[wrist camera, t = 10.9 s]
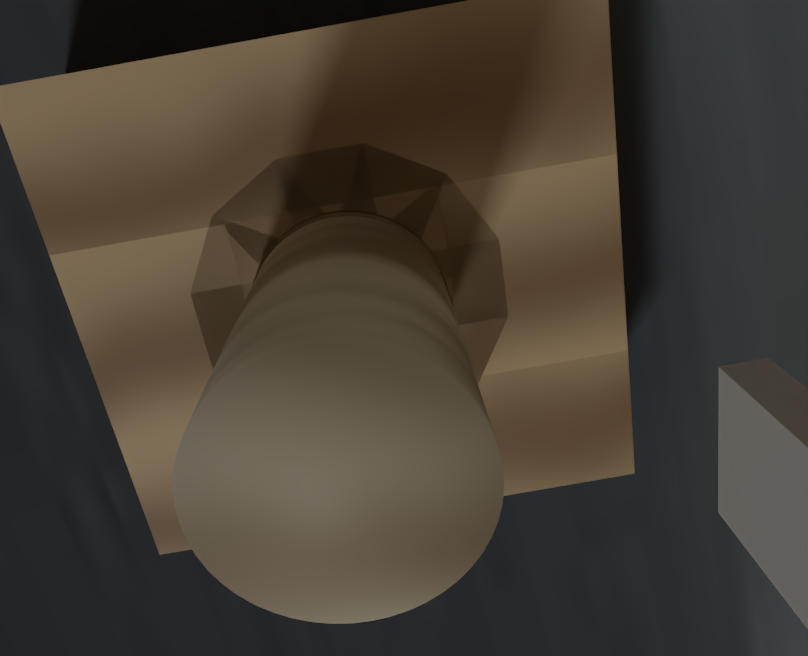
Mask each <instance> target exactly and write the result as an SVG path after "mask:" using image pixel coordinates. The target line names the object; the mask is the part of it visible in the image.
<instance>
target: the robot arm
mask: <svg viewBox="0 0 808 656" xmlns="http://www.w3.org/2000/svg"><path fill="white" fill-rule="evenodd" d="M718 513H719V514H720V515H721V517H722V518H723V519H724V520H725V522H726V523H727V524H728V526H729V527H730V528H731V530H732V531H733V532H734V534H735V535H736V536H737V537H738V539H739V540H740V541H741V543H742V544H743V545H744V547H745V548H746V549H747V551H748V552H749V553H750V554H751V556H752V557H753V558H754V560H755V561H756V562H757V564H758V565H759V566H760V567H761V569H762V570H763V571H764V573H765V574H766V575H767V577H768V578H769V579H770V581H771V582H772V583H773V584H774V586H775V587H776V588H777V590H778V591H779V592H780V594H781V595H782V596H783V598H784V599H785V600H786V601H787V603H788V604H789V605H790V607H791V608H792V609H793V611H794V612H795V613H796V614H797V616H798V617H799V618H800V620H801V621H802V622H803V624H804V625H805V626H806V628H807V629H808V389H807V388H806V387H804V386H803V385H802V384H801V383H799V382H798V381H797V380H795V379H794V378H793V377H792V376H790V375H789V374H788V373H786V372H785V371H784V370H783V369H781V368H780V367H779V366H778V365H776V364H775V363H774V362H772V361H771V360H770V359H769V358H765V359H760V360H754V361H749V362H743V363H738V364H732V365H727V366H721V367H719V434H718Z"/></svg>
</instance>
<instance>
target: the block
mask: <svg viewBox="0 0 808 656" xmlns="http://www.w3.org/2000/svg"><path fill="white" fill-rule="evenodd" d="M0 123H1V126H2V128H3V131H4V134H5V136H6V139H7V142H8V145H9V147H10V150H11V153H12V155H13V158H14V161H15V164H16V166H17V169H18V172H19V174H20V177H21V180H22V182H23V185H24V188H25V191H26V193H27V196H28V199H29V201H30V204H31V207H32V210H33V212H34V215H35V218H36V220H37V223H38V226H39V229H40V231H41V234H42V237H43V239H44V242H45V245H46V248H47V250H48V253H49V256H50V258H51V261H52V264H53V267H54V269H55V272H56V275H57V277H58V280H59V283H60V286H61V288H62V291H63V294H64V296H65V299H66V302H67V305H68V307H69V310H70V313H71V315H72V318H73V321H74V324H75V326H76V329H77V332H78V334H79V337H80V340H81V342H82V345H83V348H84V351H85V353H86V356H87V359H88V361H89V364H90V367H91V370H92V372H93V375H94V378H95V380H96V383H97V386H98V389H99V391H100V394H101V397H102V399H103V402H104V405H105V408H106V410H107V413H108V416H109V418H110V421H111V424H112V427H113V429H114V432H115V435H116V437H117V440H118V443H119V446H120V448H121V451H122V454H123V456H124V459H125V462H126V465H127V467H128V470H129V473H130V475H131V478H132V481H133V484H134V486H135V489H136V492H137V494H138V497H139V500H140V503H141V505H142V508H143V511H144V513H145V516H146V519H147V521H148V524H149V527H150V530H151V532H152V535H153V538H154V540H155V543H156V546H157V549H158V551H159V554H160V555H161V554H167V553H173V552H179V551H185V550H190V549H192V548H191V547H190V545H189V544H188V542H187V540H186V538H185V536H184V533H183V531H182V529H181V526H180V524H179V521H178V517H177V513H176V510H175V506H174V497H173V468H174V464H175V459H176V454H177V450H178V447H179V445H180V442H181V439H182V437H183V434H184V432H185V429H186V427H187V425H188V423H189V421H190V419H191V417H192V414H193V412H194V410H195V408H196V406H197V404H198V401H199V399H200V397H201V395H202V393H203V391H204V389H205V386H206V384H207V382H208V380H209V378H210V376H211V374H212V371H213V369H214V367H215V365H216V363H217V361H218V358H219V356H220V354H221V352H222V350H223V348H224V346H225V343H226V341H227V339H228V337H229V335H230V333H231V331H232V328H233V326H234V324H235V322H236V320H237V318H238V316H239V313H240V311H241V309H242V307H243V305H244V303H245V300H246V298H247V296H248V294H249V292H250V290H251V288H252V284H253V281H254V278H255V276H256V273H257V270H258V268H259V266H260V264H261V262H262V260H263V259H264V257H265V255H266V253H267V252H268V251H269V249H270V248H271V247H272V246H273V244H274V243H275V242H276V241H277V240H278V239H279V238H280V237H281V236H282V235H283V234H284V233H286V232H287V231H288V230H290V229H291V228H292V227H294V226H295V225H297V224H299V223H301V222H303V221H304V220H307V219H309V218H312V217H314V216H317V215H320V214H324V213H328V212H334V211H343V210H355V211H364V212H371V213H375V214H378V215H382V216H385V217H387V218H390V219H392V220H394V221H397V222H398V223H400V224H402V225H403V226H405V227H407V228H408V229H409V230H411V231H412V232H413V233H415V234H416V235H417V236H418V237H419V238H420V239H421V240H422V241H423V242H424V243H425V244H426V245H427V246H428V248H429V249H430V250H431V252H432V253H433V254H434V256H435V257H436V259H437V261H438V263H439V265H440V267H441V269H442V272H443V275H444V277H445V280H446V283H447V287H448V292H449V296H450V301H451V304H452V307H453V310H454V313H455V316H456V319H457V322H458V325H459V328H460V331H461V334H462V337H463V341H464V344H465V347H466V350H467V353H468V356H469V359H470V362H471V365H472V368H473V371H474V374H475V377H476V380H477V383H478V386H479V389H480V392H481V395H482V398H483V402H484V405H485V408H486V411H487V414H488V417H489V420H490V423H491V426H492V429H493V432H494V435H495V438H496V441H497V444H498V447H499V451H500V455H501V460H502V465H503V473H504V494H503V496H506V495H511V494H517V493H523V492H529V491H535V490H541V489H546V488H552V487H558V486H564V485H570V484H576V483H581V482H587V481H593V480H599V479H605V478H611V477H616V476H622V475H628V474H634V473H635V470H634V452H633V434H632V417H631V399H630V381H629V363H628V345H627V327H626V309H625V291H624V273H623V255H622V237H621V219H620V201H619V183H618V165H617V148H616V130H615V112H614V94H613V76H612V58H611V40H610V22H609V4H608V0H467V1H462V2H456V3H451V4H445V5H440V6H434V7H429V8H424V9H418V10H413V11H407V12H402V13H396V14H391V15H385V16H380V17H374V18H369V19H363V20H358V21H352V22H347V23H341V24H336V25H331V26H325V27H320V28H314V29H309V30H303V31H298V32H292V33H287V34H281V35H276V36H270V37H265V38H259V39H254V40H249V41H243V42H238V43H232V44H227V45H221V46H216V47H210V48H205V49H199V50H194V51H188V52H183V53H177V54H172V55H166V56H161V57H156V58H150V59H145V60H139V61H134V62H128V63H123V64H117V65H112V66H106V67H101V68H95V69H90V70H84V71H79V72H74V73H68V74H63V75H57V76H52V77H46V78H41V79H35V80H30V81H24V82H19V83H13V84H8V85H2V86H0Z"/></svg>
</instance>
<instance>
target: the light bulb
mask: <svg viewBox="0 0 808 656" xmlns="http://www.w3.org/2000/svg"><path fill="white" fill-rule="evenodd" d="M503 494H504V473H503V465H502V460H501V455H500V451H499V447H498V444H497V441H496V438H495V435H494V432H493V429H492V426H491V423H490V420H489V417H488V414H487V411H486V408H485V405H484V402H483V398H482V395H481V392H480V389H479V386H478V383H477V380H476V377H475V374H474V371H473V368H472V365H471V362H470V359H469V356H468V353H467V350H466V347H465V344H464V341H463V337H462V334H461V331H460V328H459V325H458V322H457V319H456V316H455V313H454V310H453V307H452V304H451V301H450V296H449V292H448V287H447V283H446V280H445V277H444V275H443V272H442V269H441V267H440V265H439V263H438V261H437V259H436V257H435V256H434V254H433V253H432V252H431V250H430V249H429V248H428V246H427V245H426V244H425V243H424V242H423V241H422V240H421V239H420V238H419V237H418V236H417V235H416V234H415V233H413V232H412V231H411V230H409V229H408V228H407V227H405V226H403V225H402V224H400V223H398V222H397V221H394V220H392V219H390V218H387V217H385V216H382V215H378V214H375V213H371V212H364V211H355V210H343V211H334V212H328V213H324V214H320V215H317V216H314V217H312V218H309V219H307V220H304V221H303V222H301V223H299V224H297V225H295V226H294V227H292V228H291V229H290V230H288V231H287V232H286V233H284V234H283V235H282V236H281V237H280V238H279V239H278V240H277V241H276V242H275V243H274V244H273V246H272V247H271V248H270V249H269V251H268V252H267V253H266V255H265V257H264V259H263V260H262V262H261V264H260V266H259V268H258V270H257V273H256V276H255V278H254V281H253V284H252V288H251V290H250V292H249V294H248V296H247V298H246V300H245V303H244V305H243V307H242V309H241V311H240V313H239V316H238V318H237V320H236V322H235V324H234V326H233V328H232V331H231V333H230V335H229V337H228V339H227V341H226V343H225V346H224V348H223V350H222V352H221V354H220V356H219V358H218V361H217V363H216V365H215V367H214V369H213V371H212V374H211V376H210V378H209V380H208V382H207V384H206V386H205V389H204V391H203V393H202V395H201V397H200V399H199V401H198V404H197V406H196V408H195V410H194V412H193V414H192V417H191V419H190V421H189V423H188V425H187V427H186V429H185V432H184V434H183V437H182V439H181V442H180V445H179V447H178V450H177V454H176V459H175V464H174V468H173V497H174V506H175V510H176V513H177V517H178V521H179V524H180V526H181V529H182V531H183V533H184V536H185V538H186V540H187V542H188V544H189V545H190V547H191V548H192V550H193V552H194V553H195V555H196V556H197V558H198V559H199V560H200V561H201V563H202V564H203V565H204V566H205V567H206V569H207V570H208V571H209V572H210V573H211V574H212V575H213V576H214V577H215V578H217V579H218V580H219V581H220V582H221V583H222V584H223V585H225V586H226V587H227V588H229V589H230V590H231V591H233V592H234V593H236V594H237V595H238V596H240V597H242V598H244V599H245V600H247V601H249V602H251V603H253V604H254V605H257V606H259V607H261V608H264V609H266V610H268V611H271V612H273V613H276V614H280V615H283V616H286V617H290V618H294V619H299V620H304V621H309V622H319V623H330V624H338V623H358V622H367V621H373V620H378V619H382V618H387V617H391V616H394V615H397V614H400V613H403V612H406V611H409V610H411V609H413V608H415V607H417V606H420V605H422V604H424V603H426V602H428V601H429V600H431V599H433V598H434V597H436V596H438V595H439V594H441V593H443V592H444V591H445V590H447V589H448V588H449V587H451V586H452V585H453V584H454V583H456V582H457V581H458V580H459V579H460V578H461V577H462V576H463V575H464V574H465V573H466V572H467V571H468V570H469V569H470V568H471V567H472V566H473V565H474V563H475V562H476V561H477V559H478V558H479V557H480V556H481V554H482V553H483V551H484V550H485V548H486V546H487V544H488V543H489V541H490V539H491V537H492V535H493V533H494V530H495V528H496V525H497V523H498V520H499V516H500V512H501V508H502V504H503Z"/></svg>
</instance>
